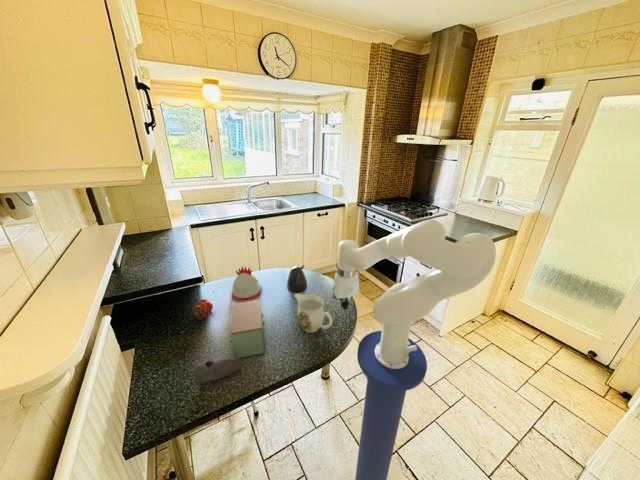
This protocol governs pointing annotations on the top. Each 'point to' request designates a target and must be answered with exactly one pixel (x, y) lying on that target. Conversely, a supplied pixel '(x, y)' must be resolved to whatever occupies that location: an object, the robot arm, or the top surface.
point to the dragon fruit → (202, 309)
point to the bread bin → (247, 328)
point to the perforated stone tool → (216, 369)
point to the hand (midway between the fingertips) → (344, 307)
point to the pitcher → (311, 312)
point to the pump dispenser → (296, 281)
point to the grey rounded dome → (245, 285)
